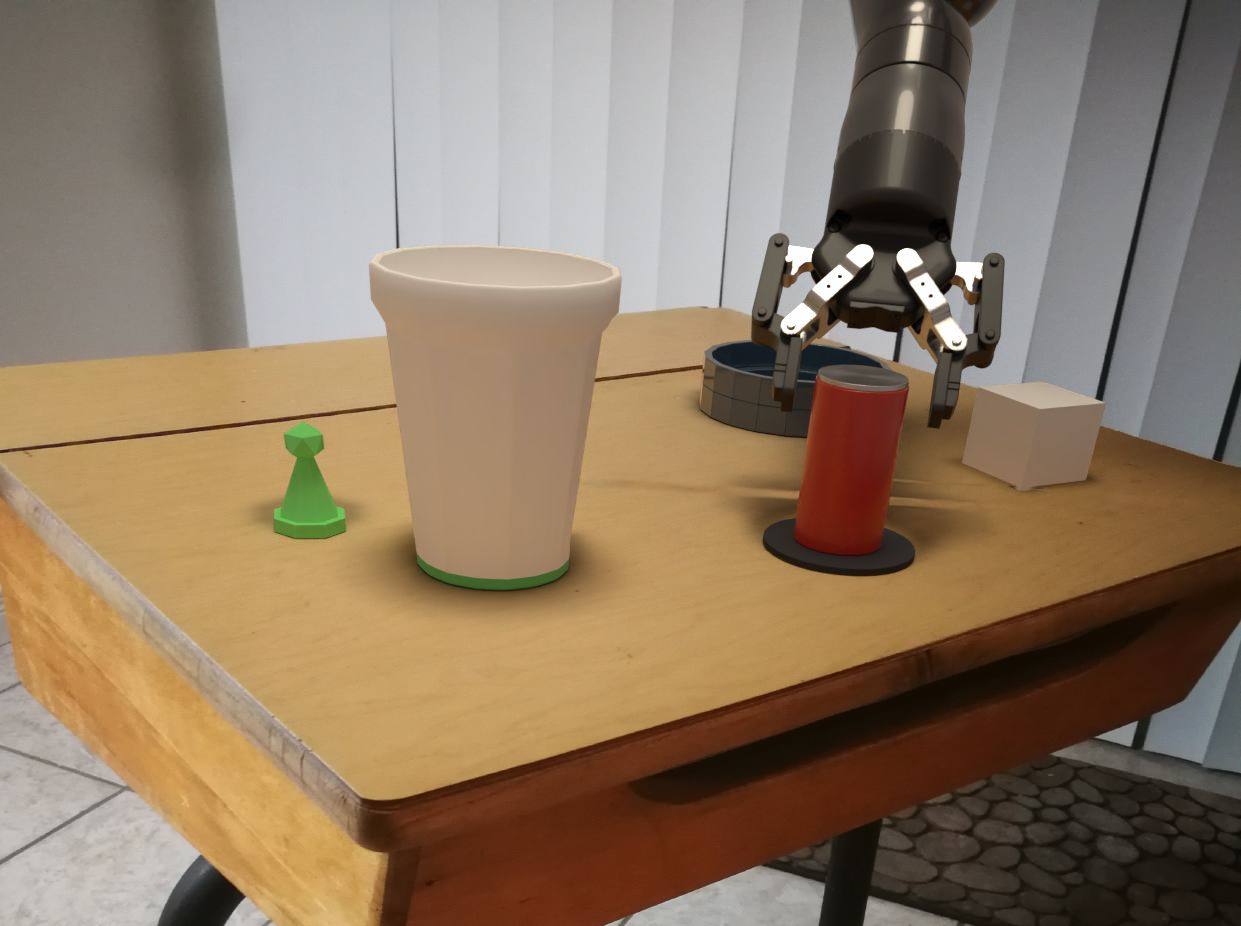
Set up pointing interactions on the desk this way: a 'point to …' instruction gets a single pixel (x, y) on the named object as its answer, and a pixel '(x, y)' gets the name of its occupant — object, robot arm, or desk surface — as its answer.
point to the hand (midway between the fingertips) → (861, 413)
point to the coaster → (885, 560)
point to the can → (850, 458)
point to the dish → (765, 384)
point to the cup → (493, 400)
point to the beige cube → (1032, 434)
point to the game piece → (307, 491)
